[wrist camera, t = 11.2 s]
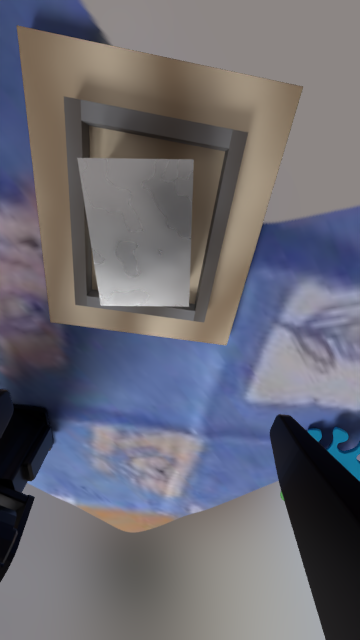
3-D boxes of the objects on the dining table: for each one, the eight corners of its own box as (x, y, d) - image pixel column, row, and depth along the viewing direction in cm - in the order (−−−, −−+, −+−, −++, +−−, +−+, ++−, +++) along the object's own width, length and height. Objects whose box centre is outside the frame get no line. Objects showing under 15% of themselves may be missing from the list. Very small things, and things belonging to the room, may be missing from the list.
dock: (56, 316, 20) (42, 330, 18) (28, 37, 12) (-1, 8, 10) (224, 338, 21) (229, 354, 19) (295, 93, 13) (314, 77, 11)
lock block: (117, 283, 17) (101, 308, 14) (102, 162, 14) (76, 153, 10) (187, 284, 17) (188, 308, 14) (190, 163, 14) (193, 155, 10)
